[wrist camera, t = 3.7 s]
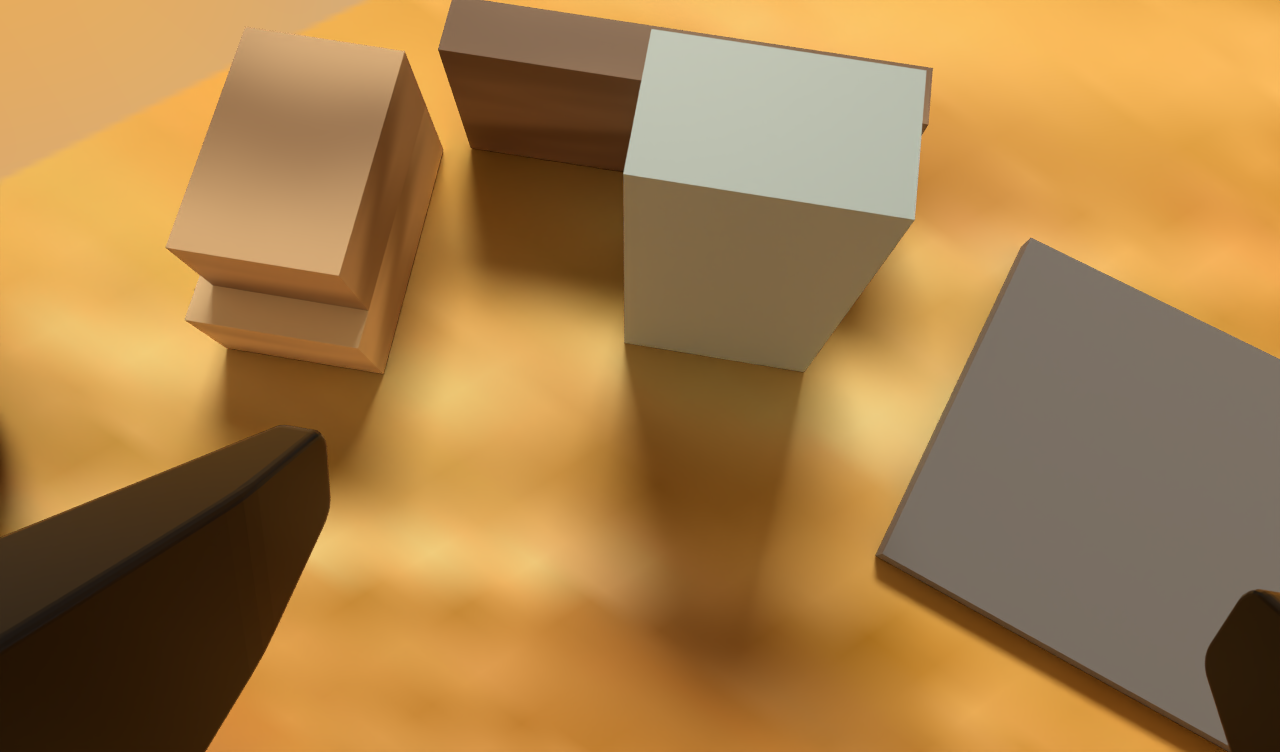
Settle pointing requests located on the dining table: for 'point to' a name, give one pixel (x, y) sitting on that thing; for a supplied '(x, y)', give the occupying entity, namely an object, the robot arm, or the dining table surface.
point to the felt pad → (1102, 482)
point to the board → (762, 195)
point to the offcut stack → (308, 200)
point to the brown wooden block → (557, 80)
